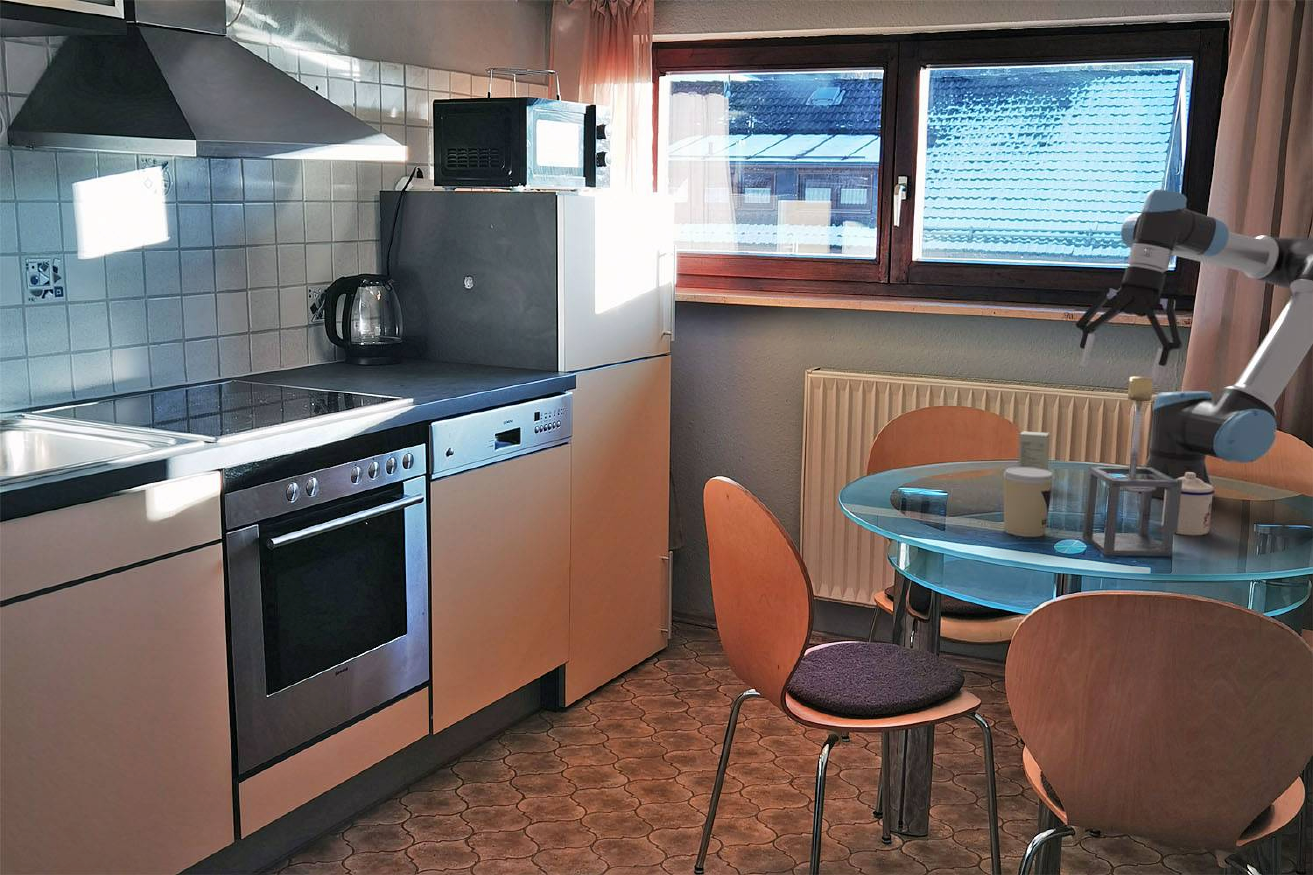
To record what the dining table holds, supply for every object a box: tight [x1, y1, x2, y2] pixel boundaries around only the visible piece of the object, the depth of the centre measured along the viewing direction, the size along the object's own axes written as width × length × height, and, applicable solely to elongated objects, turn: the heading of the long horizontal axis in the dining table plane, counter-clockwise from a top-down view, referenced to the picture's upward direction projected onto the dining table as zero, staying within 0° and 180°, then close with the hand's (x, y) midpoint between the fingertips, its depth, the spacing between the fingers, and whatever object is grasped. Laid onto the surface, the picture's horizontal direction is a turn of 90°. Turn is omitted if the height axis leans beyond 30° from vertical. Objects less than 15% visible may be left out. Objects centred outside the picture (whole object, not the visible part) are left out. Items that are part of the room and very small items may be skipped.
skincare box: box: [1017, 430, 1051, 471], centre depth 272 cm, size 6×4×12 cm
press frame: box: [1082, 466, 1182, 557], centre depth 223 cm, size 15×12×14 cm
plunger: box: [1106, 375, 1156, 493], centre depth 220 cm, size 8×8×20 cm
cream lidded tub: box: [1003, 466, 1055, 538], centre depth 233 cm, size 9×9×12 cm
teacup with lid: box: [1161, 472, 1215, 536], centre depth 237 cm, size 12×9×12 cm
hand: (1117, 373), depth 239 cm, fingers open, 13 cm apart
